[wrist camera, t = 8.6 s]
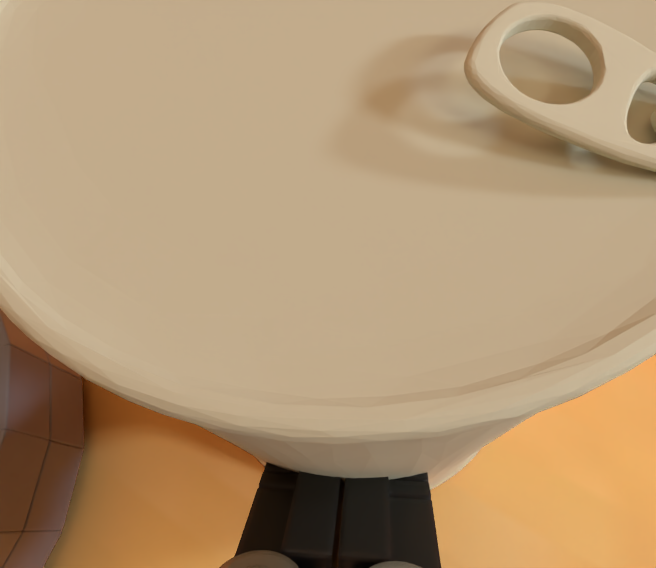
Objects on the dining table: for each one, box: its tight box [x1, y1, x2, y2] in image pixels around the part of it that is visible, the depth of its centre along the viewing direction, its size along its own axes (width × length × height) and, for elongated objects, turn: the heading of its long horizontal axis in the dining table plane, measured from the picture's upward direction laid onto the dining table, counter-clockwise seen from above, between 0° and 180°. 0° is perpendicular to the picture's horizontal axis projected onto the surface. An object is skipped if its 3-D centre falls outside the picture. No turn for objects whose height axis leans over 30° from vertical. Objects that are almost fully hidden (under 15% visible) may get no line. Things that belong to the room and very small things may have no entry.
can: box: [0, 0, 656, 490], centre depth 10 cm, size 9×9×12 cm
